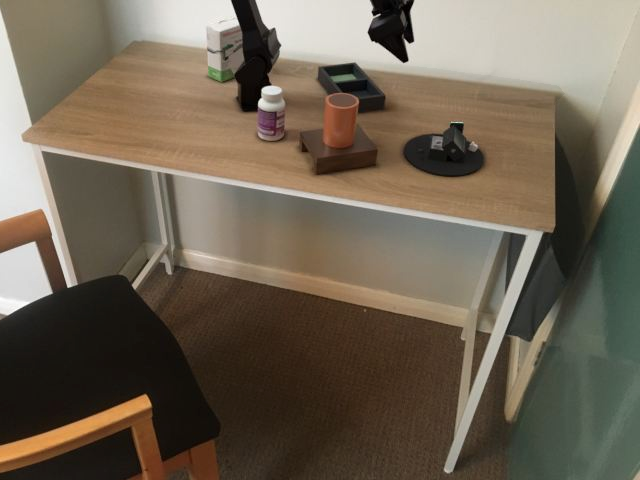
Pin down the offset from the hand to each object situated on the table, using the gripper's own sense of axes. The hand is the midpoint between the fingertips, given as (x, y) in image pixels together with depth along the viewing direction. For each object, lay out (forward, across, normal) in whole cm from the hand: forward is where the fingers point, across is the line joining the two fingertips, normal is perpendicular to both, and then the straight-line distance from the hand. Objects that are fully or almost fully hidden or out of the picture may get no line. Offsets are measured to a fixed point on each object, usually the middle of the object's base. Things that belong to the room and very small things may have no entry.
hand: (409, 52), depth 116 cm
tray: (+7, +10, +18) cm, 22 cm away
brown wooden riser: (+8, -17, +16) cm, 24 cm away
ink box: (-8, +12, +43) cm, 46 cm away
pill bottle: (0, -13, +28) cm, 31 cm away
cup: (+5, -17, +14) cm, 22 cm away
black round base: (+18, -10, -1) cm, 21 cm away
